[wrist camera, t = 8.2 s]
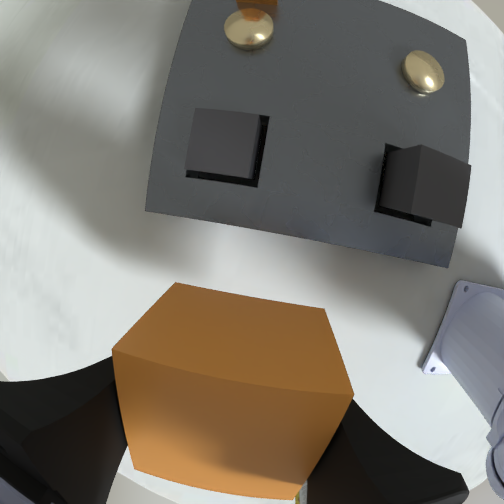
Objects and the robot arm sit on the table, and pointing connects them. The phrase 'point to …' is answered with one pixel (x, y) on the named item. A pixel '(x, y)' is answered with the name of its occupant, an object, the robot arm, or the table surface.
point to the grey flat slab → (315, 117)
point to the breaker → (426, 184)
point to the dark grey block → (224, 143)
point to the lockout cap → (230, 391)
